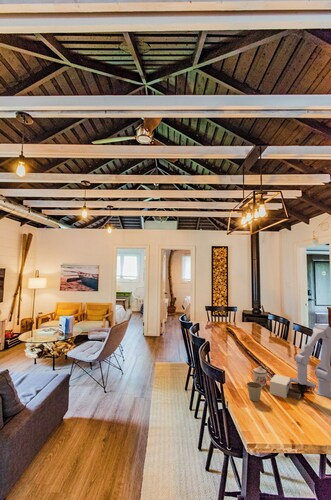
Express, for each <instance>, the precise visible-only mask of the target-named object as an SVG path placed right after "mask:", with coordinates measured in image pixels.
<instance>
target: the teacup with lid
mask: <svg viewBox="0 0 331 500" xmlns="http://www.w3.org/2000/svg"><path fill="white" fill-rule="evenodd" d="M252 371H253V382H257V383H260V384H261V385H262V387H265V386H267V383H268V382H267V381H270V380H271V379H272V375H271V373H270V372H269V373H268V372H267V370H266V369H264V368H262V366H260V365H259V366H258V367H256V368H253V369H252ZM267 375H268V378H267Z"/></svg>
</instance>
